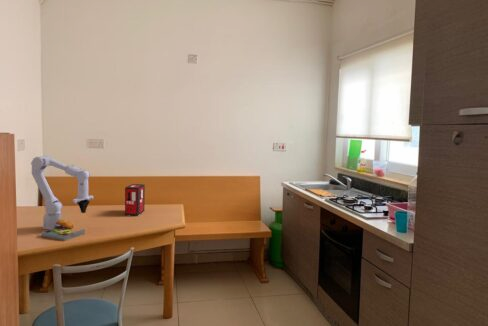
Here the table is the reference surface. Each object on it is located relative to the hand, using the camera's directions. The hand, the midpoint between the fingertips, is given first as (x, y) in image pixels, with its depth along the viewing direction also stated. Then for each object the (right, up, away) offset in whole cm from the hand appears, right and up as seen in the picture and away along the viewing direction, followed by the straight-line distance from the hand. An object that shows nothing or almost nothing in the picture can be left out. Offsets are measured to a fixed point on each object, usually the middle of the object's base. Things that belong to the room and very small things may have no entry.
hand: (83, 212), depth 226 cm
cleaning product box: (+18, -7, +44) cm, 48 cm away
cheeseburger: (-6, -11, -14) cm, 19 cm away
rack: (-6, -11, -13) cm, 18 cm away
